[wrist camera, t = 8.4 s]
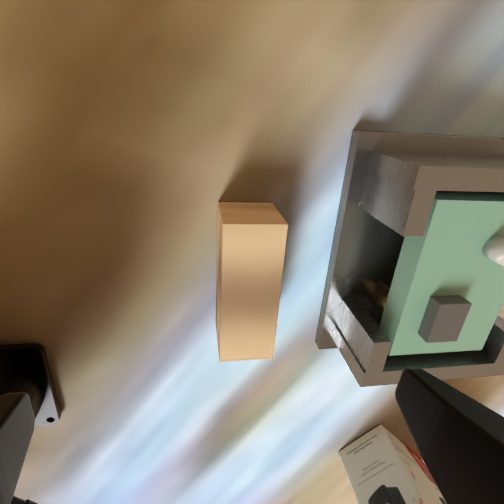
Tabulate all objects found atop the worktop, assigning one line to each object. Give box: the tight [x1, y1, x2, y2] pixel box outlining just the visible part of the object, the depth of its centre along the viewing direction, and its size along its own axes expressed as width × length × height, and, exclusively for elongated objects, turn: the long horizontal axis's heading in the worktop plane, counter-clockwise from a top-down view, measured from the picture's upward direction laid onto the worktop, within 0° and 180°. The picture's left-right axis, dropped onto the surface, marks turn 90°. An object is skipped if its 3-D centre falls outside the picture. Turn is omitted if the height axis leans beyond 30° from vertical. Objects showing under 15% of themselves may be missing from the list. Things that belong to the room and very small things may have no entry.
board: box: [379, 192, 504, 356], centre depth 17 cm, size 9×6×2 cm, turn 176°
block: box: [216, 202, 288, 362], centre depth 18 cm, size 8×3×4 cm, turn 176°
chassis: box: [315, 130, 504, 387], centre depth 19 cm, size 14×11×5 cm
